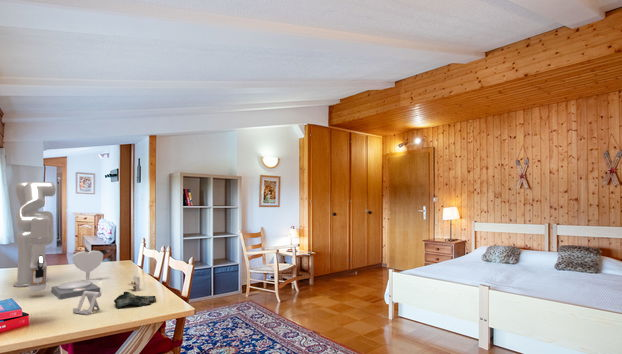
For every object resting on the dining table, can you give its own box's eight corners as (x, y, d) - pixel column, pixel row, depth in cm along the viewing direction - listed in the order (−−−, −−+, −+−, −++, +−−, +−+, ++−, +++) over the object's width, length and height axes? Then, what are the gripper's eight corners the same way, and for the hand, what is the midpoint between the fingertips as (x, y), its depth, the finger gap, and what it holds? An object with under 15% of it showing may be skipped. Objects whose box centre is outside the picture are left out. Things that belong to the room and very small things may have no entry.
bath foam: (28, 291, 184) (30, 251, 184) (29, 288, 190) (31, 249, 190) (45, 289, 188) (47, 250, 188) (46, 286, 193) (47, 248, 194)
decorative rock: (153, 289, 187) (162, 292, 175) (153, 301, 186) (161, 306, 174) (112, 292, 175) (117, 296, 164) (110, 305, 174) (116, 311, 163)
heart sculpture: (101, 278, 228) (102, 249, 229) (102, 280, 224) (103, 250, 225) (71, 282, 219) (72, 252, 220) (72, 284, 215) (73, 253, 216)
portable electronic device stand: (72, 313, 160) (73, 294, 160) (89, 308, 167) (89, 289, 168) (87, 315, 157) (87, 295, 157) (103, 310, 164) (103, 291, 165)
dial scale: (51, 291, 198) (51, 284, 199) (89, 285, 211) (89, 279, 211) (59, 299, 182) (59, 291, 183) (100, 292, 195) (100, 285, 195)
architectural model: (133, 292, 196) (133, 278, 196) (127, 290, 200) (127, 276, 201) (139, 291, 199) (139, 277, 199) (133, 289, 203) (133, 275, 203)
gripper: (27, 240, 193) (26, 274, 192) (32, 243, 181) (31, 280, 180) (45, 238, 198) (44, 272, 198) (51, 242, 186) (50, 278, 185)
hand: (38, 275), depth 189 cm, fingers closed on bath foam, 7 cm apart
